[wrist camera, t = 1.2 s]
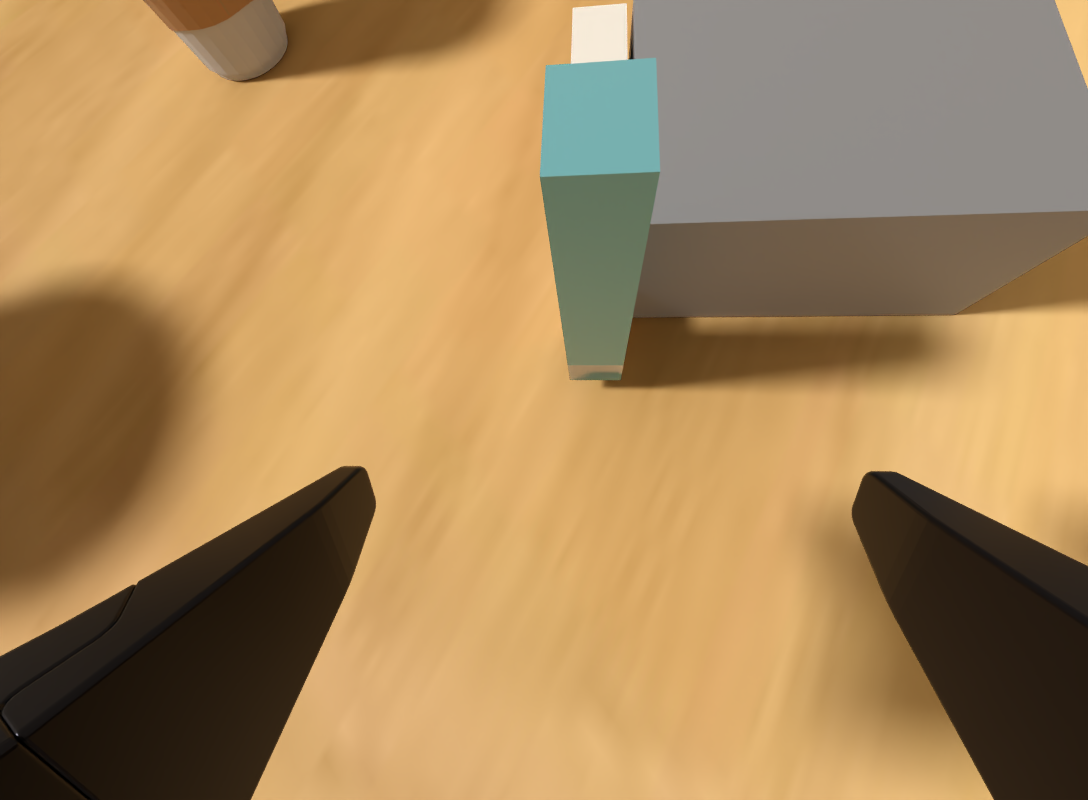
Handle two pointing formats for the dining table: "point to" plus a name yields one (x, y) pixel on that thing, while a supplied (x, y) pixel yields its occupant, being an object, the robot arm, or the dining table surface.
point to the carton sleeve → (858, 154)
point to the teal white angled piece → (599, 186)
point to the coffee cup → (228, 33)
